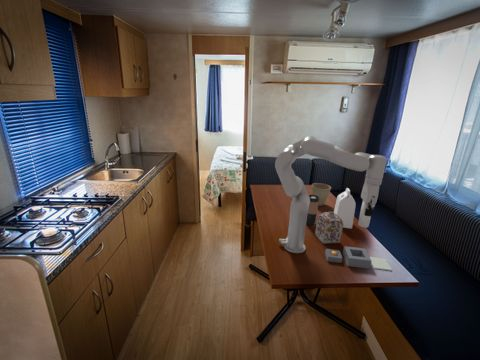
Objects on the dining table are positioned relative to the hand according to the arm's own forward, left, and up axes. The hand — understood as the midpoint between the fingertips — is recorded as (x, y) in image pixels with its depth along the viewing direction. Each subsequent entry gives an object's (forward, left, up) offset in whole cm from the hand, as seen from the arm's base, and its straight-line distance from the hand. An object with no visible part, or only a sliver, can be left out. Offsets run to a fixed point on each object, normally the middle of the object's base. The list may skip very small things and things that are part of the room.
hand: (365, 212), depth 135 cm
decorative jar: (-12, +21, -29) cm, 38 cm away
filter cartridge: (0, 0, -7) cm, 7 cm away
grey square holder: (0, 0, -29) cm, 29 cm away
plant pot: (-10, +77, -29) cm, 83 cm away
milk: (+2, +45, -29) cm, 54 cm away
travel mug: (-21, +40, -29) cm, 54 cm away
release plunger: (-12, 0, -29) cm, 31 cm away
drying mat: (+13, 0, -29) cm, 32 cm away
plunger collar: (-12, 0, -29) cm, 32 cm away
